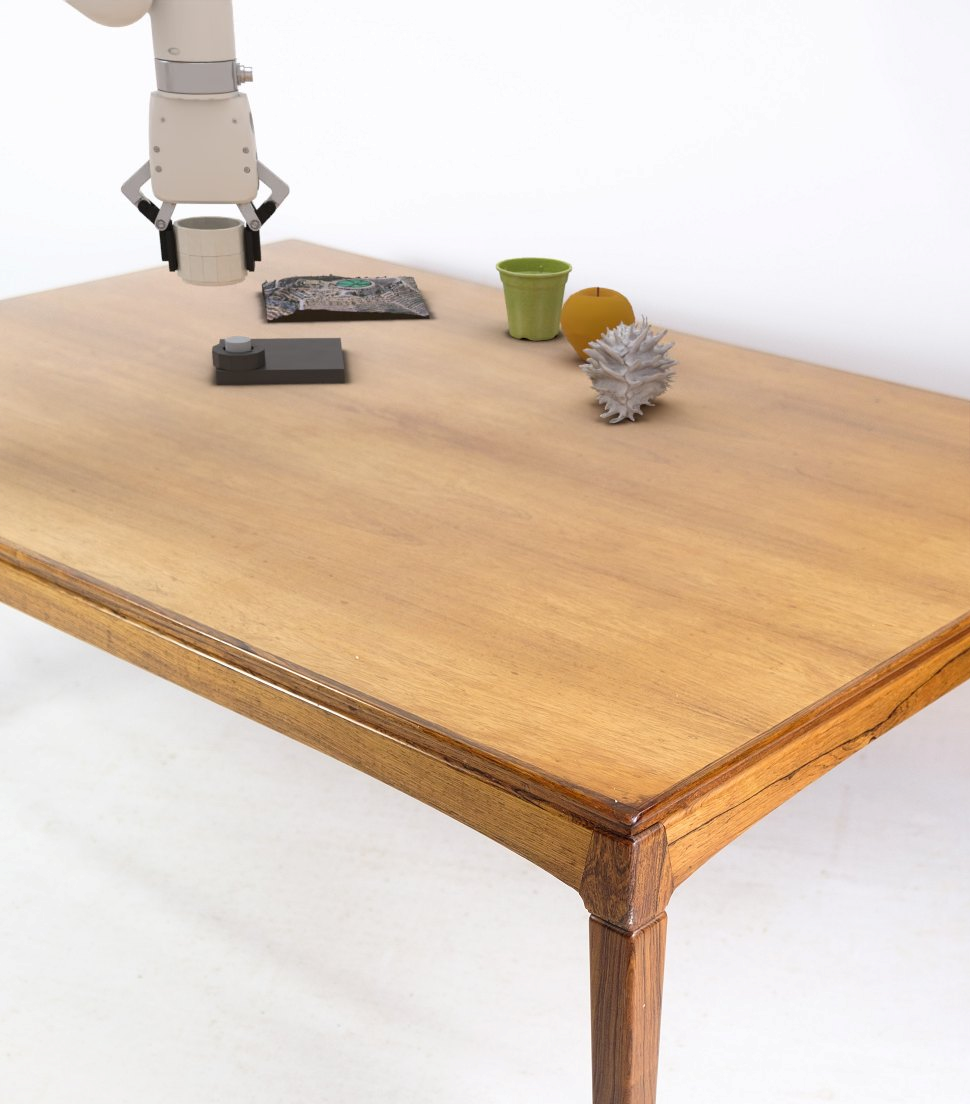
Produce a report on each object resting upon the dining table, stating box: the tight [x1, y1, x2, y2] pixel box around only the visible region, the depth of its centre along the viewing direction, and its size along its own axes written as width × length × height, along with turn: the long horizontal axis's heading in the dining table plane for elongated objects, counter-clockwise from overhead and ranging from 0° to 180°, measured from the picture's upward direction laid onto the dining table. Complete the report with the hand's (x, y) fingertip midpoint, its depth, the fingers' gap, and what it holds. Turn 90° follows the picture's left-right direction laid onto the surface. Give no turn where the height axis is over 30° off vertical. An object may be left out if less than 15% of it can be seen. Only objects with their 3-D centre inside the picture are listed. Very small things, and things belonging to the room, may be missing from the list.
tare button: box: [224, 335, 252, 352], centre depth 181 cm, size 3×3×1 cm
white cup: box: [172, 215, 249, 288], centre depth 162 cm, size 7×7×6 cm
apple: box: [560, 286, 636, 364], centre depth 193 cm, size 9×9×9 cm
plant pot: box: [495, 256, 573, 342], centre depth 202 cm, size 9×9×9 cm
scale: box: [211, 337, 346, 386], centre depth 186 cm, size 14×13×4 cm
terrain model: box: [261, 273, 430, 324], centre depth 212 cm, size 20×15×3 cm
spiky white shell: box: [578, 314, 681, 424], centre depth 177 cm, size 12×11×12 cm
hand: (212, 267), depth 163 cm, fingers closed on white cup, 6 cm apart
